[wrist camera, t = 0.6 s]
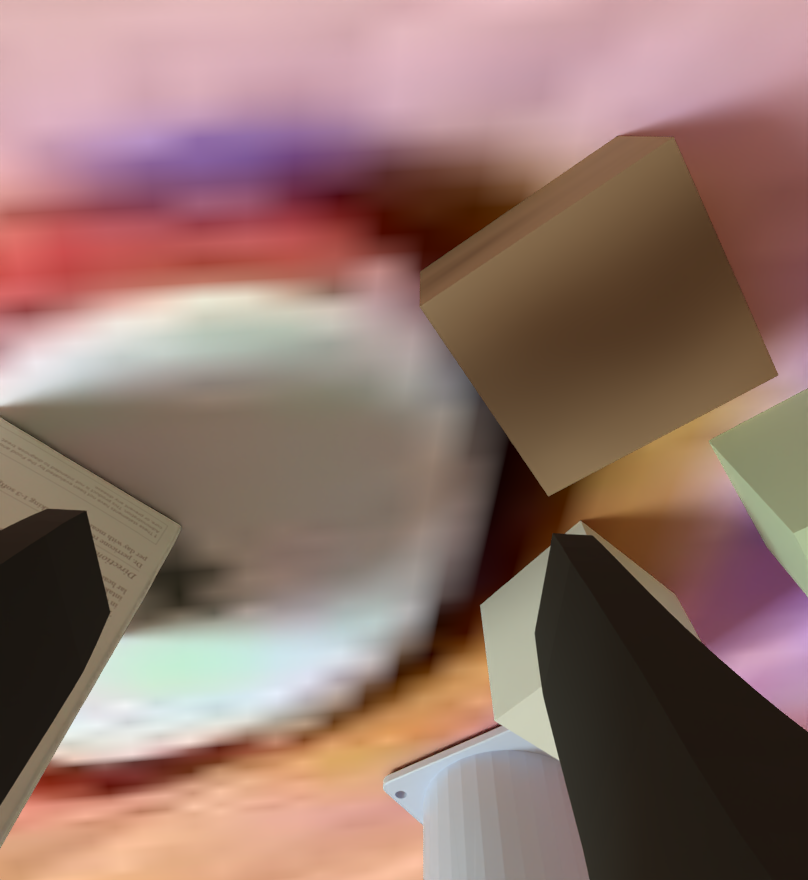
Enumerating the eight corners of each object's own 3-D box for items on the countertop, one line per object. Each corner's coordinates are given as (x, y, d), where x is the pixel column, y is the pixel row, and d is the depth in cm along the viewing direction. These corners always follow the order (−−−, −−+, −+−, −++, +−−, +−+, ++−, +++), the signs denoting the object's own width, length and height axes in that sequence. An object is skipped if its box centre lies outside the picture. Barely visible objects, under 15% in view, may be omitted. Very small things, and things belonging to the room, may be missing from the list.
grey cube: (674, 593, 22) (738, 710, 18) (573, 667, 24) (608, 790, 19) (579, 519, 21) (623, 626, 16) (480, 603, 22) (494, 720, 18)
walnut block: (706, 325, 18) (778, 375, 14) (524, 429, 19) (548, 496, 16) (615, 135, 15) (673, 136, 12) (420, 270, 17) (420, 306, 14)
